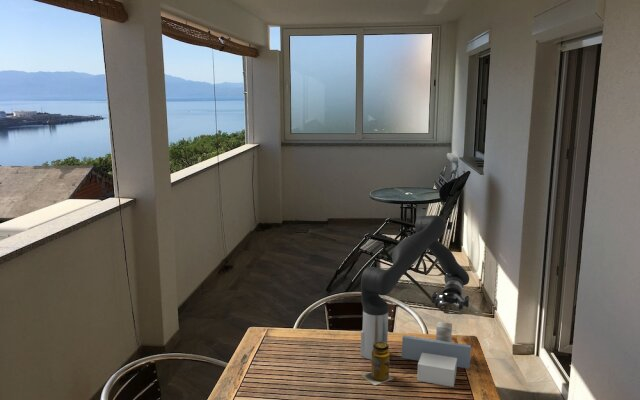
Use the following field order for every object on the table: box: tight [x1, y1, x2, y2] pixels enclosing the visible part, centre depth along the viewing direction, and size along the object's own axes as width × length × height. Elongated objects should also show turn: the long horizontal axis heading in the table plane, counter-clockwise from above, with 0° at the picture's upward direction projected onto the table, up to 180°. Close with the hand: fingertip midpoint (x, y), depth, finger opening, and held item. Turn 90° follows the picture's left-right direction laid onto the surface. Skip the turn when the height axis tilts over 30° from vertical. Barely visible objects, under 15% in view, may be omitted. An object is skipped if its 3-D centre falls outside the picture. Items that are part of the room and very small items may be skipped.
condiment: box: [361, 342, 395, 386], centre depth 183 cm, size 7×8×12 cm
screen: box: [401, 334, 472, 369], centre depth 195 cm, size 24×2×8 cm, turn 71°
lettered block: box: [435, 321, 453, 342], centre depth 199 cm, size 5×5×12 cm
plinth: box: [416, 353, 458, 388], centre depth 184 cm, size 12×9×6 cm
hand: (448, 306), depth 208 cm, fingers open, 8 cm apart
